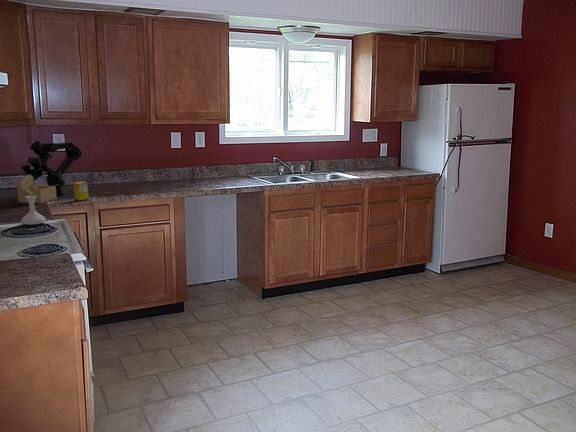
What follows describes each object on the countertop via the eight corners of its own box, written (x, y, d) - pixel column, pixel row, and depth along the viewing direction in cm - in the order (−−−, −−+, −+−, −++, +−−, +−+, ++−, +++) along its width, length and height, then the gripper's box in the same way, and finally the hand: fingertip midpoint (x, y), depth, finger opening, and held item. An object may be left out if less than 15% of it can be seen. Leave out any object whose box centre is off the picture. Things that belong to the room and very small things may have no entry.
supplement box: (83, 199, 344) (82, 181, 341) (89, 200, 340) (87, 182, 338) (74, 200, 339) (73, 182, 337) (80, 201, 335) (78, 183, 333)
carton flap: (11, 180, 327) (10, 180, 326) (32, 181, 323) (31, 181, 322) (17, 188, 332) (17, 189, 332) (38, 189, 328) (37, 190, 328)
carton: (35, 197, 348) (34, 185, 346) (57, 199, 343) (56, 186, 341) (18, 202, 334) (16, 188, 332) (40, 203, 330) (39, 190, 328)
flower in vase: (19, 223, 281) (13, 173, 276) (43, 220, 288) (38, 171, 282) (24, 228, 271) (18, 176, 265) (49, 225, 277) (44, 174, 272)
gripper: (21, 151, 336) (9, 172, 328) (47, 152, 331) (36, 173, 323) (32, 162, 345) (21, 183, 337) (58, 163, 340) (47, 185, 332)
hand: (31, 181), depth 332 cm, fingers closed
